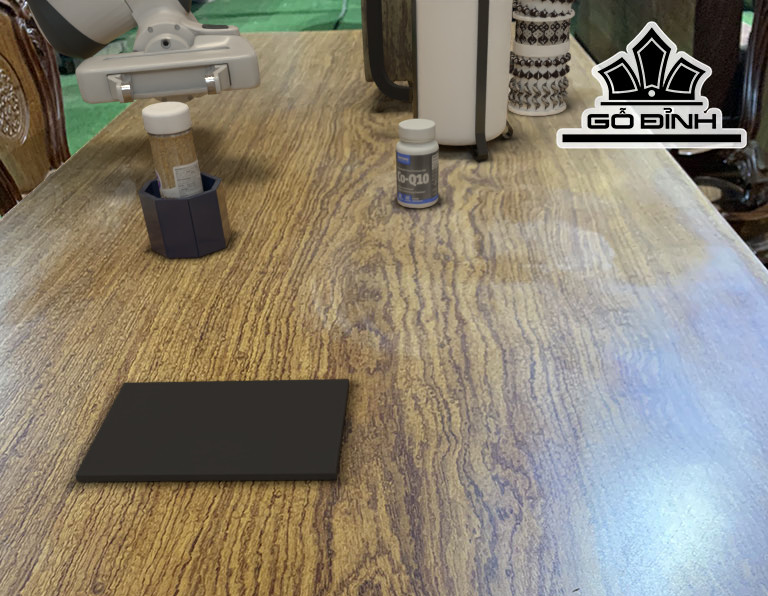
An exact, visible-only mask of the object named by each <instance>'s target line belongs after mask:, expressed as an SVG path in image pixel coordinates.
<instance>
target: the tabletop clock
mask: <svg viewBox="0 0 768 596" xmlns="http://www.w3.org/2000/svg"><path fill="white" fill-rule="evenodd" d="M360 17H361V18H360V19H361V37H362V55H363V68H364V79H365V82H366V83H375V82H374V80H373V78H372V74H371V70H370V64H369V52H368V35H367V12H366V0H360ZM382 25H383V49H384V65H385V70H386V73H387V75H388V77H389V78H390V80H391V81H392V82H393V83H395V82H407V84H408V87H413V75H412V26H411V0H382ZM385 98H386V95H384V94H383V93H382V92H381V91H380V96H379V98H378V99H376V100H374V102H373V107H374V109H375V110H376V111H377V112H381V111H384V109H385V107H386V104H385V103H386V102H385V101H384V99H385Z"/></svg>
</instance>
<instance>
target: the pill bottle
mask: <svg viewBox="0 0 768 596" xmlns="http://www.w3.org/2000/svg"><path fill="white" fill-rule="evenodd" d="M435 134H436V130H435V122H433V121H431V120H427V119H413V118H409V119H405V120H402V121H400V122H399V123H398V139H399V141H398V142H397V143H396V144H395V163H396V164H395V167H396V169H395V170H396V171H395V173H396V177H395V178H396V200H397V203H398V204H399V205H400V206H402V207H405V208H410V209H424V208H429V207H432V206H434V205H436V204H437V203H438V201H439V182H440V181H439V177H440V175H439V173H440V171H439V168H440V167H439V166H440V164H439V163H440V162H439V161H440V159H439V157H440V147H439V146H440V145H439V144H438V143H437V141H436V140H434V138H435Z"/></svg>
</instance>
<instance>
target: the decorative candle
mask: <svg viewBox="0 0 768 596" xmlns="http://www.w3.org/2000/svg"><path fill="white" fill-rule="evenodd" d="M577 1H578V0H513V3H512V8H514V10H512V19H515V26H514V38H513V40H512V51H513V53H512V54H511V56H510V60H511V61H512V62H513V63H514V65H512V64H511V65H512V66H511V67H510V70H509V74H511V75H512V77H511V78H509V85H508V89H509V91H508V101H509V103H508V104H507V111H510V112H511V113H513V114H516V115H521V116H528V117H530V116H531V117H540V116H541V117H542V116H551V115H557V114H559V113H562V112H564V111H565V110H566V109H567V103H566V100H567V99H568V98H569V97H568V91H567V89H568V88H569V86H570V84H569V83H570V81H569V79H568V78H567V76H566V75H567V74H568V73H570V71H571V68H570V65H569V64H568V63H569V62H570V61H571V59H572V54H571V53H570V51H571V38H570V35H571V23H572V22H571V21H572V18H573V17H575V16H576V12H575V10H574V9H573V8H572V5H573V4H574V3H576V2H577Z"/></svg>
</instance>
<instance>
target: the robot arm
mask: <svg viewBox="0 0 768 596" xmlns="http://www.w3.org/2000/svg"><path fill="white" fill-rule="evenodd" d="M25 1H26V3H27V6H28V8H29V11H30V14H31V16H32V18H33V20H34V23H35V25H36V26H37V29H38V30H39V32H40V34H41V35H42V37H43V38H44V39H45V40H46V42H47V43H48V44H49V45H50V46H51V47H52V49H53V50H54V51H55V52H56V53H58V54H61V55H63V56H67V57H70V58H73V59H79V60H83V61H82V62H81V63H80V64H79V65H78V66H77V67H76V68H75V78H76V82H77V86H78V89H79V93H80V97H81V99H82V101H83V102H85V103H86V104H90V105H97V104H106V103H107V104H108V103H116V102H117V103H118V102H119V104H127V103H128V104H130V103H134V101H137V100H139V101H140V100H148V99H155V100H156V101H159V102H160V103H161V102H181V103H184V104H186V103H189V102H191V101H192V100H194V99H195V98H201V97H204V96H206V95H209V96H210V95H222V92H231V91H232V92H233V91H240V90H241V91H243V90H251V89H257V88H259V87H260V86H261V84H262V83H261V74H260V73H261V72H260V65H259V58H258V54H257V51H256V48H255V47H254V45H253V43H252V42H251V41H250V40H249V39H248V38H246V37H244V36H241V32H240V29H239V27H238V26H236V25H227V24H212V23H211V24H210V23H201V22H199V21H198V19H197V18H196V16H195V15H194V14H193V12H192V11H191V9H192V1H193V0H25ZM136 27H137V29H136V34H135V38H134V43H133V46H132V47H133V48H132V51H131V52H119V53H109V54H99V55H96V54H98V53H99V52H101V51H102V50H104V49H105V48H106V47H107V46H108V45H109V44H110V43H111V42H112V41H114V40H115V39H117V38H120V37H121V36H122V35H125V34H126V33H127V32H129V31H131V30H133V29H134V28H136Z"/></svg>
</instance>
